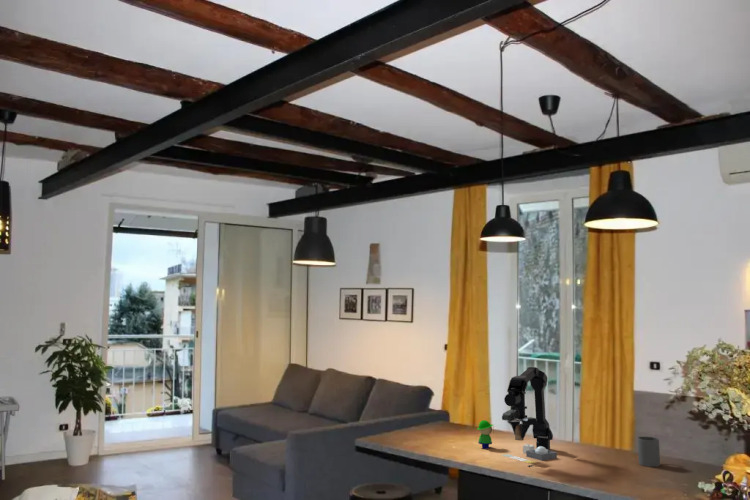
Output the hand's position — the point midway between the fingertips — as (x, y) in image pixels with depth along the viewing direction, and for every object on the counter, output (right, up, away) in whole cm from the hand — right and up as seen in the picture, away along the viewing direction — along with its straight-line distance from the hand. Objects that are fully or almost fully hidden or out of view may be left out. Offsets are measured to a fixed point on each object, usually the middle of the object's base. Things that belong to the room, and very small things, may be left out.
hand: (519, 437), depth 297 cm
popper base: (+11, -11, +3) cm, 16 cm away
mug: (+61, -11, -5) cm, 62 cm away
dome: (+11, -11, +3) cm, 16 cm away
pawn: (0, -1, 0) cm, 1 cm away
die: (+8, -12, +13) cm, 19 cm away
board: (+5, -12, +4) cm, 14 cm away
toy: (-12, -14, +25) cm, 31 cm away
